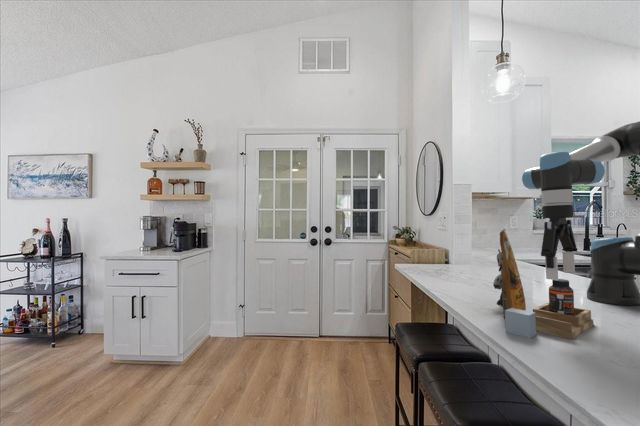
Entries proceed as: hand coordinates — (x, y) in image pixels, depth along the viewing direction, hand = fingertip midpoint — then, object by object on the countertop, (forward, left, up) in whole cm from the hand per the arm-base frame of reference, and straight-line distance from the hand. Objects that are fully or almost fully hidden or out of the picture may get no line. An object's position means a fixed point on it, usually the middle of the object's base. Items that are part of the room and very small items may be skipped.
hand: (561, 276), depth 95 cm
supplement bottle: (0, 0, -13) cm, 13 cm away
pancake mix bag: (+3, -13, -14) cm, 19 cm away
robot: (-10, -21, -14) cm, 27 cm away
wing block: (+18, -4, -14) cm, 23 cm away
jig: (+4, 0, -14) cm, 14 cm away
